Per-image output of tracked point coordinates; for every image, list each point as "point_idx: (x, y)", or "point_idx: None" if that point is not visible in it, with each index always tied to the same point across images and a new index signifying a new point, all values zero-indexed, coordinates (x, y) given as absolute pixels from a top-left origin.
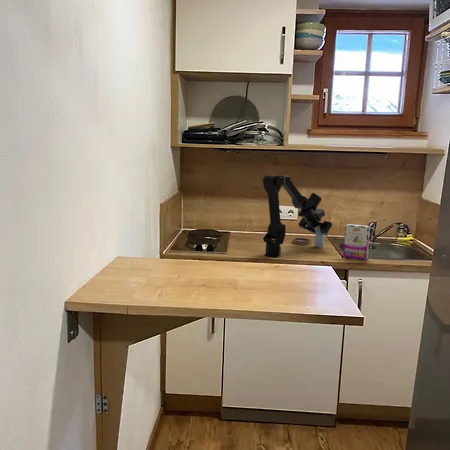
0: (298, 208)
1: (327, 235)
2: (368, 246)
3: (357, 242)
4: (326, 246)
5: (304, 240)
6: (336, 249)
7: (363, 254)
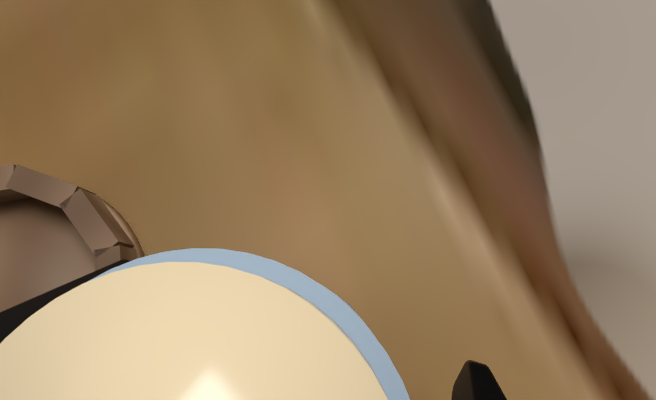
0: None
1: (479, 374)
2: None
3: None
4: (383, 254)
5: (20, 202)
6: (579, 338)
7: None
